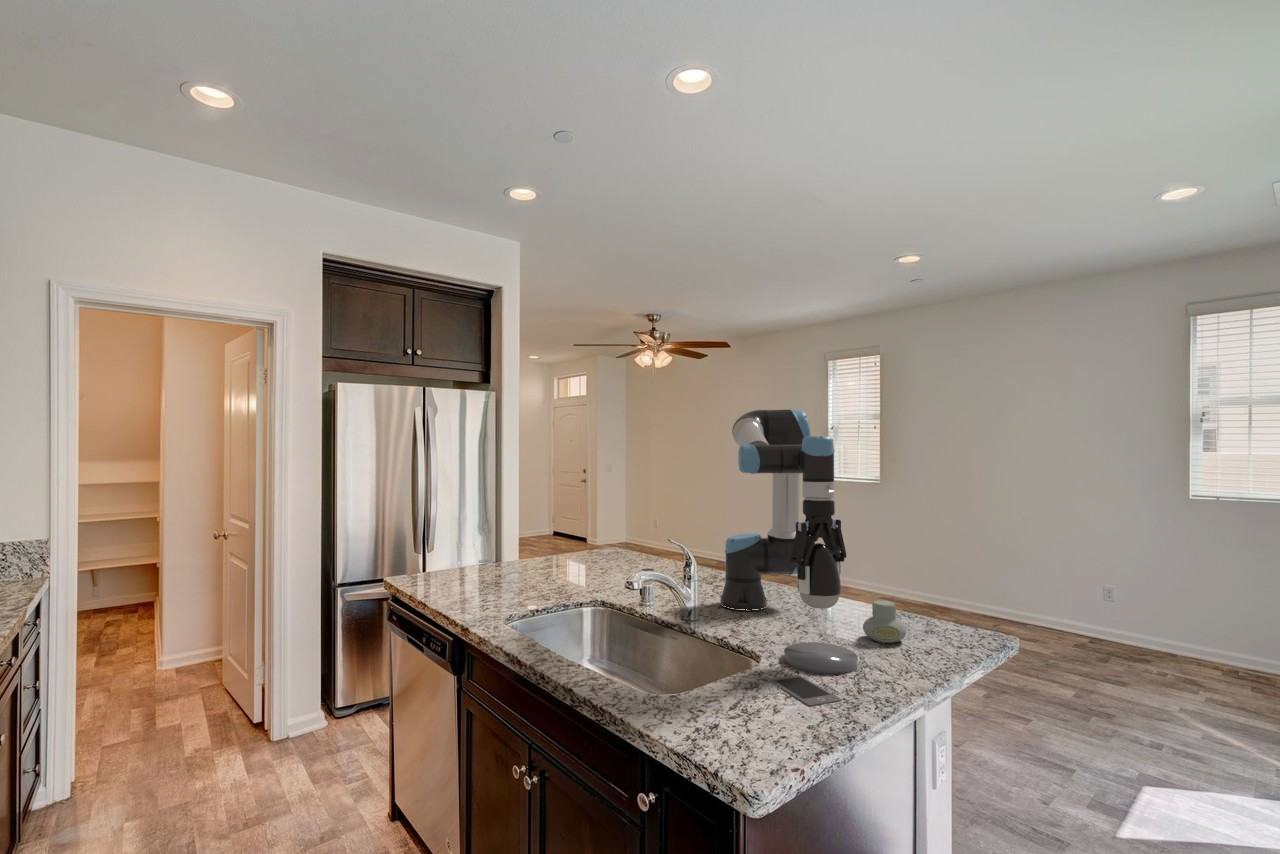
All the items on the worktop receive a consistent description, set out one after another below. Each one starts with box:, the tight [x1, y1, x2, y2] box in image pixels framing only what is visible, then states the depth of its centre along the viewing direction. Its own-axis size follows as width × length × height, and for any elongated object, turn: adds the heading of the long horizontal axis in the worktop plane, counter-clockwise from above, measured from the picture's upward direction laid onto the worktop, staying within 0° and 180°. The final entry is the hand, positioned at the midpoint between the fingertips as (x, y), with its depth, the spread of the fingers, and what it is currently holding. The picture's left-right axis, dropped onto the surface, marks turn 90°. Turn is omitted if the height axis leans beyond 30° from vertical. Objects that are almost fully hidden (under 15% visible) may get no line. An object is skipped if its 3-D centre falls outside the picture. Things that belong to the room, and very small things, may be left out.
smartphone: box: [768, 674, 842, 708], centre depth 131 cm, size 15×8×1 cm, turn 21°
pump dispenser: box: [797, 542, 842, 609], centre depth 149 cm, size 10×10×15 cm
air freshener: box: [862, 600, 907, 644], centre depth 165 cm, size 11×8×10 cm
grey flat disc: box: [783, 641, 858, 675], centre depth 148 cm, size 17×17×2 cm
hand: (819, 590), depth 149 cm, fingers closed on pump dispenser, 10 cm apart
